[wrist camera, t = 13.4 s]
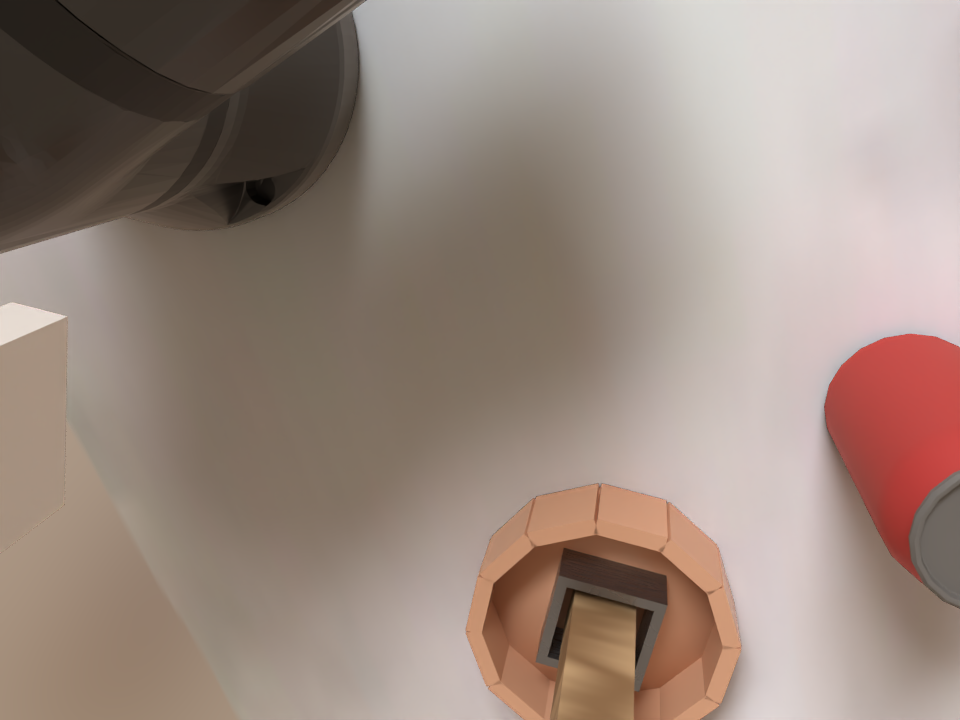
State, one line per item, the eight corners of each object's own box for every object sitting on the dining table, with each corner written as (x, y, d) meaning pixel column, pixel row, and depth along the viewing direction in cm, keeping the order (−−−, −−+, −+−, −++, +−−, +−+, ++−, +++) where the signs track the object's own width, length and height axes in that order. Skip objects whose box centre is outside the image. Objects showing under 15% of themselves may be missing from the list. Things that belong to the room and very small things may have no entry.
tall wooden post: (565, 619, 44) (529, 854, 31) (577, 571, 43) (546, 794, 30) (622, 635, 43) (610, 879, 30) (636, 587, 42) (631, 819, 29)
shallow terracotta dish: (462, 659, 46) (448, 703, 43) (508, 458, 42) (497, 492, 39) (690, 725, 45) (693, 777, 42) (763, 525, 41) (773, 565, 37)
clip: (541, 630, 44) (535, 662, 42) (563, 547, 42) (558, 575, 40) (639, 658, 44) (639, 691, 41) (666, 575, 42) (667, 605, 39)
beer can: (910, 493, 39) (1016, 667, 28) (790, 416, 39) (848, 559, 27) (1017, 383, 36) (1181, 524, 25) (889, 300, 36) (997, 405, 25)
